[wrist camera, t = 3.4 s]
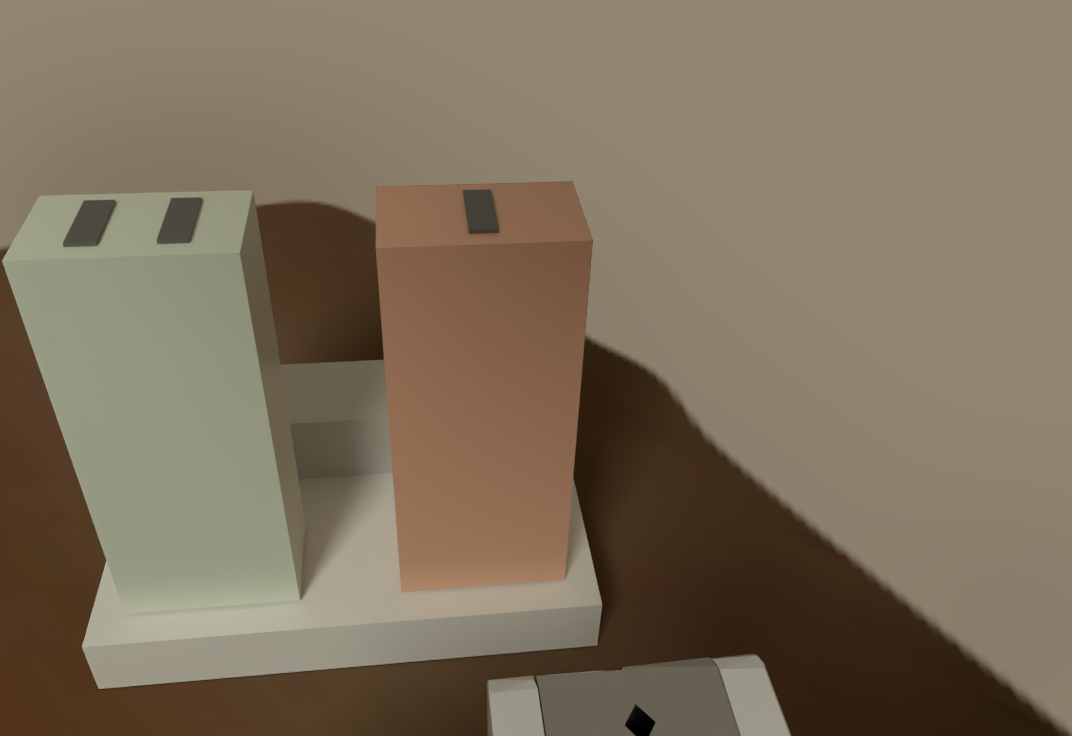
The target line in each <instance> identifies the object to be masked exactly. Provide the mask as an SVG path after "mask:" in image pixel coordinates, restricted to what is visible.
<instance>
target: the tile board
mask: <svg viewBox="0 0 1072 736" xmlns="http://www.w3.org/2000/svg"><path fill="white" fill-rule="evenodd" d="M281 371H282V378H283V384H284V391H285V397H286V403H287V410H288V416H289V422H290V429H291V435H292V442H293V448H294V454H295V461H296V467H297V474H298V480H299V486H300V493H301V499H302V505H303V512H304V518H305V525H306V529H305V542H304V555H303V568H302V581H301V594H300V600H294V601H281V602H268V603H255V604H243V605H230V606H217V607H204V608H191V609H179V610H166V611H153V612H140V613H127V614H125V612H124V609H123V606H122V603H121V600H120V598H119V595H118V592H117V589H116V586H115V583H114V580H113V577H112V575H111V572H110V569H109V566H108V563H107V561H106V564H105V568H104V571H103V575H102V578H101V582H100V585H99V589H98V592H97V596H96V600H95V603H94V607H93V610H92V614H91V617H90V621H89V624H88V628H87V631H86V635H85V638H84V642H83V645H82V649H83V651H84V654H85V656H86V659H87V661H88V664H89V666H90V668H91V671H92V673H93V676H94V678H95V681H96V683H97V686H98V688H99V689H103V688H115V687H126V686H138V685H149V684H161V683H172V682H184V681H195V680H207V679H218V678H230V677H241V676H253V675H264V674H276V673H287V672H299V671H310V670H322V669H333V668H345V667H356V666H368V665H379V664H391V663H402V662H414V661H425V660H437V659H448V658H460V657H471V656H483V655H494V654H506V653H517V652H529V651H540V650H552V649H563V648H575V647H586V646H597V644H598V635H599V627H600V619H601V611H602V602H601V597H600V593H599V588H598V584H597V580H596V575H595V571H594V566H593V562H592V558H591V553H590V549H589V544H588V540H587V536H586V531H585V527H584V522H583V518H582V514H581V509H580V505H579V500H578V496H577V492H576V487H575V483H574V478H573V486H572V498H571V510H570V522H569V534H568V546H567V558H566V570H565V579H563V580H550V581H537V582H524V583H512V584H499V585H486V586H473V587H460V588H448V589H435V590H422V591H409V592H401V580H400V567H399V553H398V540H397V526H396V513H395V499H394V486H393V472H392V459H391V446H390V432H389V419H388V405H387V392H386V378H385V365H384V360H369V361H348V362H328V363H307V364H286V365H281Z"/></svg>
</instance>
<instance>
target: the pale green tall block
mask: <svg viewBox="0 0 1072 736" xmlns="http://www.w3.org/2000/svg"><path fill="white" fill-rule="evenodd" d="M2 262H3V265H4V268H5V271H6V274H7V276H8V279H9V282H10V285H11V288H12V291H13V294H14V296H15V299H16V302H17V305H18V308H19V311H20V314H21V317H22V319H23V322H24V325H25V328H26V331H27V334H28V337H29V339H30V342H31V345H32V348H33V351H34V354H35V357H36V360H37V362H38V365H39V368H40V371H41V374H42V377H43V380H44V382H45V385H46V388H47V391H48V394H49V397H50V400H51V403H52V405H53V408H54V411H55V414H56V417H57V420H58V423H59V425H60V428H61V431H62V434H63V437H64V440H65V443H66V446H67V448H68V451H69V454H70V457H71V460H72V463H73V466H74V469H75V471H76V474H77V477H78V480H79V483H80V486H81V489H82V491H83V494H84V497H85V500H86V503H87V506H88V509H89V512H90V514H91V517H92V520H93V523H94V526H95V529H96V532H97V534H98V537H99V540H100V543H101V546H102V549H103V552H104V555H105V557H106V560H107V563H108V566H109V569H110V572H111V575H112V577H113V580H114V583H115V586H116V589H117V592H118V595H119V598H120V600H121V603H122V606H123V609H124V612H125V614H127V613H140V612H153V611H166V610H179V609H191V608H204V607H217V606H230V605H243V604H255V603H268V602H281V601H294V600H300V594H301V581H302V568H303V555H304V542H305V529H306V525H305V518H304V512H303V505H302V499H301V493H300V486H299V480H298V474H297V467H296V461H295V454H294V448H293V442H292V435H291V429H290V422H289V416H288V410H287V403H286V397H285V391H284V384H283V378H282V371H281V365H280V359H279V352H278V346H277V340H276V333H275V327H274V320H273V314H272V308H271V301H270V295H269V288H268V282H267V276H266V269H265V263H264V257H263V250H262V244H261V237H260V231H259V225H258V218H257V212H256V206H255V200H254V193H253V190H236V191H235V190H233V191H195V192H157V193H121V194H82V195H45V196H39V198H38V200H37V201H36V203H35V205H34V206H33V208H32V210H31V212H30V213H29V215H28V217H27V219H26V220H25V222H24V224H23V226H22V227H21V229H20V231H19V232H18V234H17V236H16V238H15V239H14V241H13V243H12V245H11V246H10V248H9V250H8V251H7V253H6V255H5V257H4V258H3V260H2Z"/></svg>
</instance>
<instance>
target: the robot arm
mask: <svg viewBox="0 0 1072 736" xmlns="http://www.w3.org/2000/svg"><path fill="white" fill-rule="evenodd" d="M487 725H488V736H791V734H790V731H789V728H788V726H787V723H786V720H785V718H784V715H783V712H782V710H781V707H780V704H779V702H778V699H777V696H776V694H775V691H774V688H773V686H772V683H771V680H770V678H769V675H768V672H767V670H766V667H765V664H764V663H763V662H762V660H761V659H760V658H759V657H758V656H757V655H755V654H745V655H736V656H728V657H719V658H710V659H709V657H707V658H698V659H690V660H681V661H673V662H664V663H655V664H647V665H638V666H629V667H623V668H622V669H621V668H620V669H609V670H598V671H587V672H576V673H565V674H553V675H542V676H535V677H534V676H524V677H515V678H505V679H495V680H488V681H487Z"/></svg>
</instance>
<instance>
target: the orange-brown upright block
mask: <svg viewBox="0 0 1072 736" xmlns="http://www.w3.org/2000/svg"><path fill="white" fill-rule="evenodd" d="M592 244H593V240H592V237H591V234H590V231H589V228H588V225H587V222H586V219H585V217H584V214H583V211H582V208H581V205H580V202H579V199H578V196H577V193H576V190H575V187H574V184H573V182H533V183H496V184H461V185H460V184H458V185H420V186H384V187H376V257H377V270H378V284H379V297H380V311H381V324H382V338H383V351H384V365H385V378H386V392H387V405H388V419H389V432H390V446H391V459H392V472H393V486H394V499H395V513H396V526H397V540H398V553H399V567H400V580H401V592H409V591H422V590H435V589H448V588H460V587H473V586H486V585H499V584H512V583H524V582H537V581H550V580H563V579H565V570H566V558H567V546H568V534H569V522H570V510H571V498H572V486H573V474H574V462H575V449H576V437H577V425H578V413H579V401H580V389H581V377H582V365H583V353H584V341H585V329H586V317H587V304H588V292H589V281H590V268H591V256H592Z"/></svg>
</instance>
